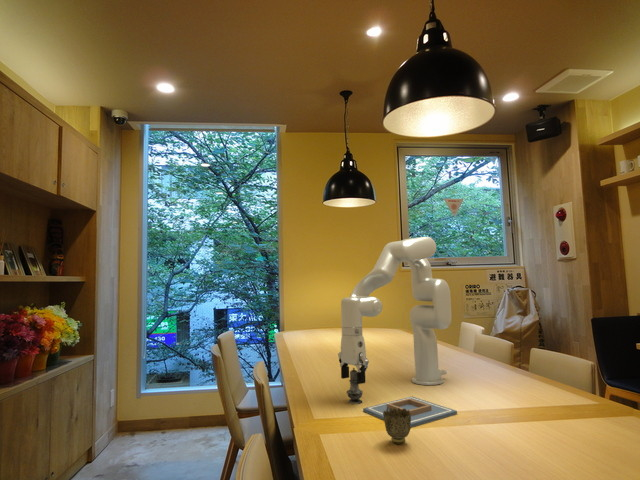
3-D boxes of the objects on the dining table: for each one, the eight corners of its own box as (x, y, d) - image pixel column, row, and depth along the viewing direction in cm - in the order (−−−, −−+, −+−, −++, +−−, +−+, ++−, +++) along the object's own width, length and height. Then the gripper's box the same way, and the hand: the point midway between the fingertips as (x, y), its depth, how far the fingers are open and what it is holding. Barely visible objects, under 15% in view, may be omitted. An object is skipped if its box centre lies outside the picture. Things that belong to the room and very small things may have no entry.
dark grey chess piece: (362, 404, 142) (361, 369, 143) (345, 404, 143) (344, 369, 145) (364, 399, 148) (362, 365, 149) (348, 399, 149) (346, 365, 150)
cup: (381, 438, 112) (380, 408, 113) (407, 436, 113) (406, 406, 114) (388, 449, 105) (386, 417, 106) (416, 447, 106) (414, 415, 106)
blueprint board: (412, 399, 147) (411, 392, 147) (457, 414, 130) (456, 405, 130) (363, 411, 135) (362, 403, 135) (405, 429, 118) (404, 420, 118)
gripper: (375, 333, 142) (376, 384, 141) (346, 329, 157) (347, 374, 155) (357, 335, 139) (359, 387, 137) (330, 330, 153) (331, 377, 151)
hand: (353, 380), depth 146 cm, fingers open, 9 cm apart
